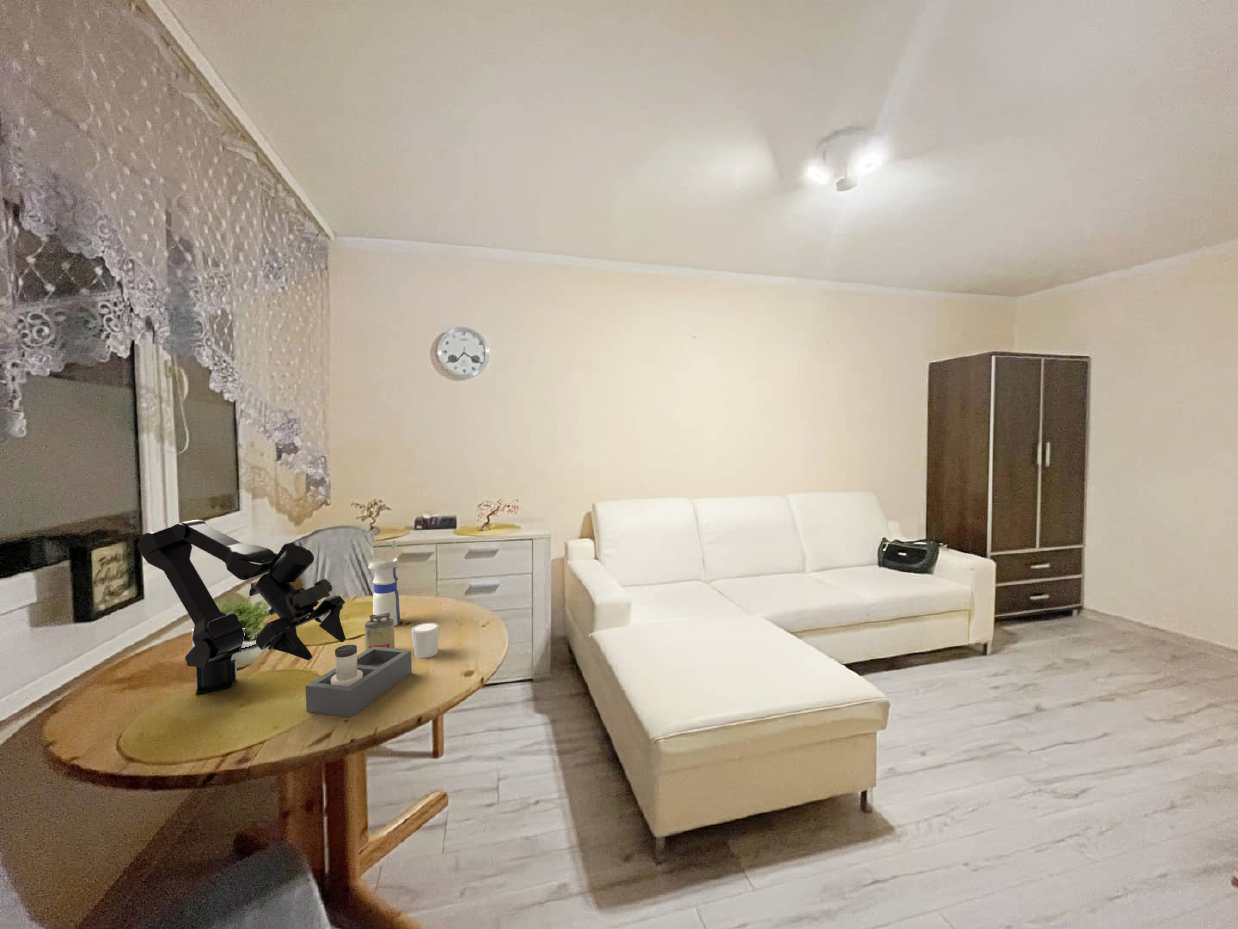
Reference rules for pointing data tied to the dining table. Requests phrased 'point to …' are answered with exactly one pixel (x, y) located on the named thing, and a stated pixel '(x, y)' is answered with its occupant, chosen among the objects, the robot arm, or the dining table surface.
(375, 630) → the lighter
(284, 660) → the dining table surface
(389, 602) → the white spray bottle
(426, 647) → the shot glass
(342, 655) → the plug
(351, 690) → the compartment tray
